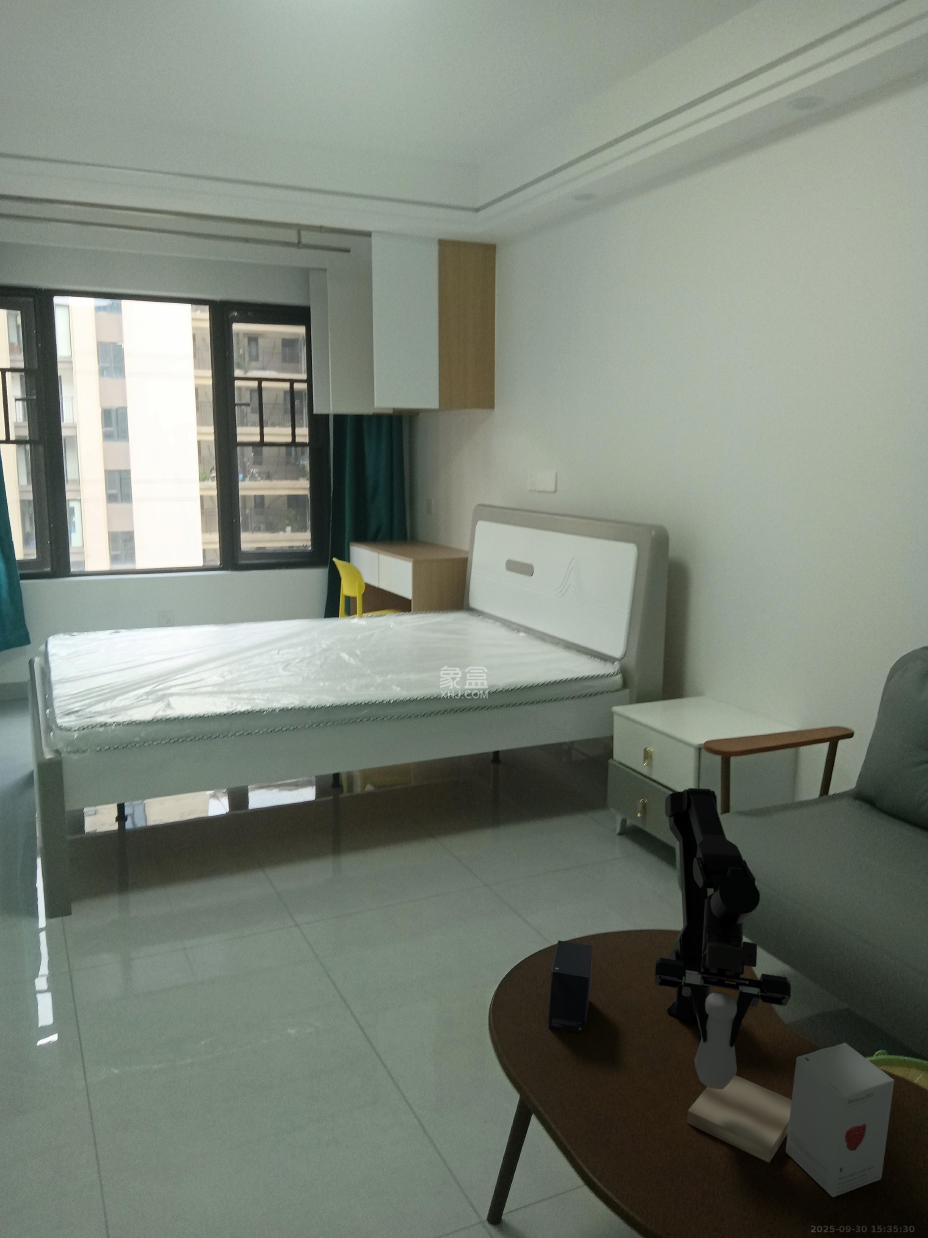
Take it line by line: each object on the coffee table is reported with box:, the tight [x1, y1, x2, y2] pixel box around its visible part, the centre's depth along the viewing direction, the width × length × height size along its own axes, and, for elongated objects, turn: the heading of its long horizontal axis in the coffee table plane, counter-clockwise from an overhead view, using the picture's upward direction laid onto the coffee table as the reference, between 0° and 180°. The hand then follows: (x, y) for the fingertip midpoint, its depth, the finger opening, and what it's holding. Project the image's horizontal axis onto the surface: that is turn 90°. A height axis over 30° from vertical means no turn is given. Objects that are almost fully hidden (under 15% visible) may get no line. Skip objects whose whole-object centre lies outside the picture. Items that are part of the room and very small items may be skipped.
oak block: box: [686, 1074, 792, 1163], centre depth 136 cm, size 12×12×2 cm
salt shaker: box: [694, 991, 738, 1089], centre depth 133 cm, size 6×6×13 cm
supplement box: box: [785, 1042, 895, 1198], centre depth 127 cm, size 9×9×15 cm
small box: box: [547, 940, 593, 1034], centre depth 160 cm, size 11×6×10 cm, turn 168°
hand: (718, 1044), depth 132 cm, fingers closed on salt shaker, 3 cm apart
